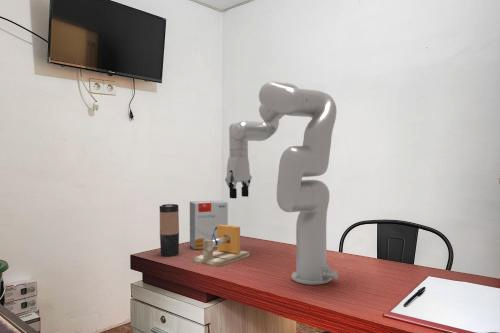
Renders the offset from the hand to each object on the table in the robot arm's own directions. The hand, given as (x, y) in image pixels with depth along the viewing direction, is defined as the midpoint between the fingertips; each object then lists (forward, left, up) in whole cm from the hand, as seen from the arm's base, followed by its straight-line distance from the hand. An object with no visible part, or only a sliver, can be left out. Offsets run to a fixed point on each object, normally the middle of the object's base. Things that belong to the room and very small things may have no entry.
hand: (239, 197), depth 158 cm
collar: (0, +7, -21) cm, 22 cm away
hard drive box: (+18, -1, -23) cm, 29 cm away
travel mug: (+22, +18, -23) cm, 37 cm away
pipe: (0, +11, -17) cm, 20 cm away
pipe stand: (0, +11, -23) cm, 25 cm away
